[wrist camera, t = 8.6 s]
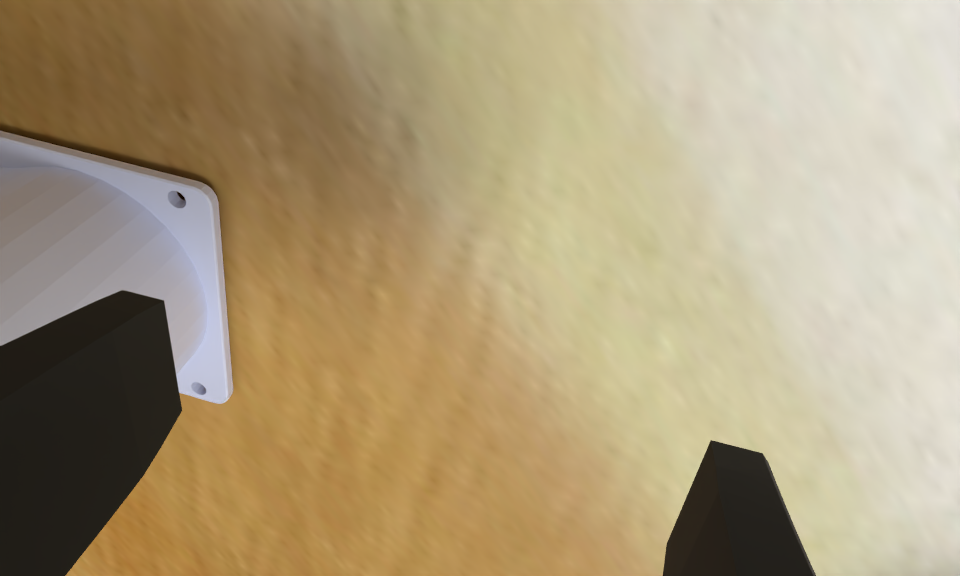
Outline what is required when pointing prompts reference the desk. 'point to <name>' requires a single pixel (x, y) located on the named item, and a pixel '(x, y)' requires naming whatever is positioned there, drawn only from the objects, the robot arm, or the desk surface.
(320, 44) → the desk surface
